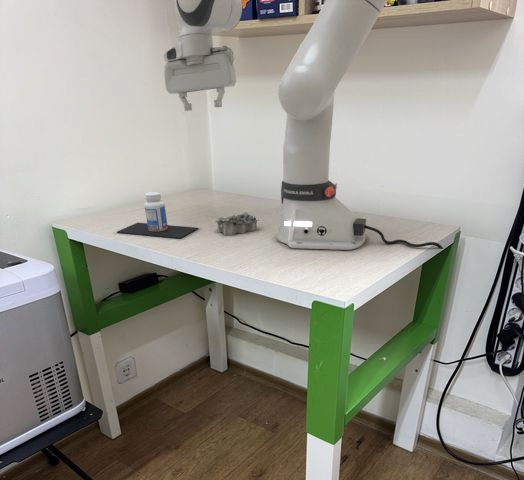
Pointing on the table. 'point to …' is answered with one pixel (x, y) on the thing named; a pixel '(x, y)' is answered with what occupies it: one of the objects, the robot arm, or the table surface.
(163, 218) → the pill bottle
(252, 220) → the egg carton
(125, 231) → the mat
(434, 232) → the table surface
